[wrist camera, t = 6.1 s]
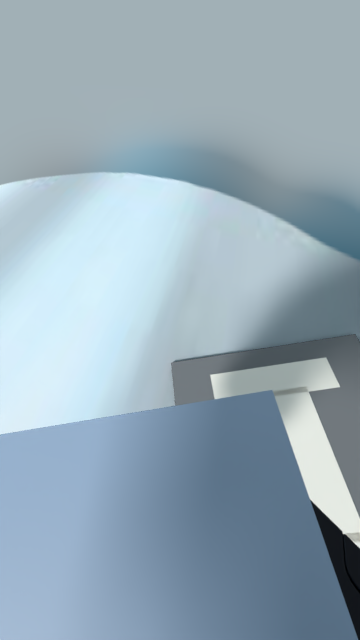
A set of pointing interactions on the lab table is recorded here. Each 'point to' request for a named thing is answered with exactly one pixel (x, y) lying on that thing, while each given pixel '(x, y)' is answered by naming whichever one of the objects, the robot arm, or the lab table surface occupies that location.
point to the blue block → (164, 530)
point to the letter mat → (299, 410)
